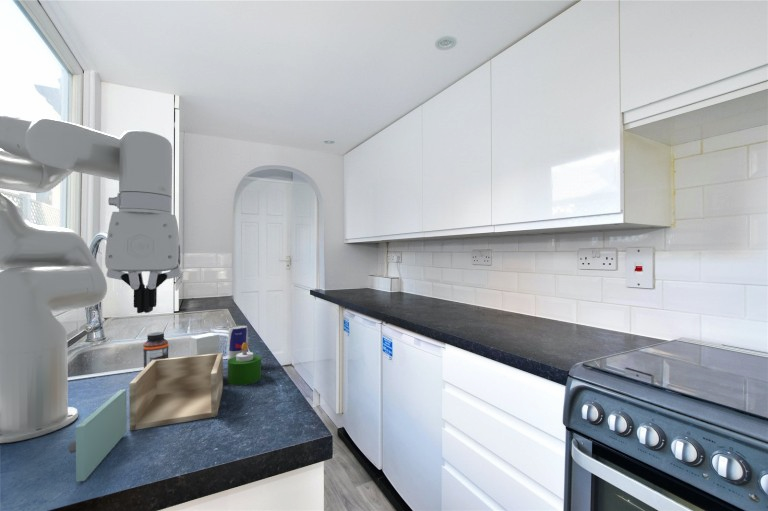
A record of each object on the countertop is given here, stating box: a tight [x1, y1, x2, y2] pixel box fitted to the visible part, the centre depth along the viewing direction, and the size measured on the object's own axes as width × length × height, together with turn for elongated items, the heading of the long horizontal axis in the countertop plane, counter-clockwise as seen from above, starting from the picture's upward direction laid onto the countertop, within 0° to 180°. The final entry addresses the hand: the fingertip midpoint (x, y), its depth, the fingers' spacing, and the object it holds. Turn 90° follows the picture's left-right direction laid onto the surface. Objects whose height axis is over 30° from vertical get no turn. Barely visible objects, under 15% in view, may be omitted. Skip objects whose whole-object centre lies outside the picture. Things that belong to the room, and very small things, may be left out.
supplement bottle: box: [142, 331, 169, 369], centre depth 98 cm, size 6×6×11 cm
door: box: [68, 388, 128, 483], centre depth 56 cm, size 14×2×8 cm, turn 17°
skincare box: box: [189, 332, 221, 356], centre depth 92 cm, size 6×4×12 cm
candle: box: [227, 343, 262, 386], centre depth 92 cm, size 8×8×10 cm
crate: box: [128, 352, 224, 431], centre depth 75 cm, size 15×16×9 cm
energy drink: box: [227, 324, 249, 360], centre depth 102 cm, size 5×5×12 cm
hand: (145, 311), depth 59 cm, fingers closed
